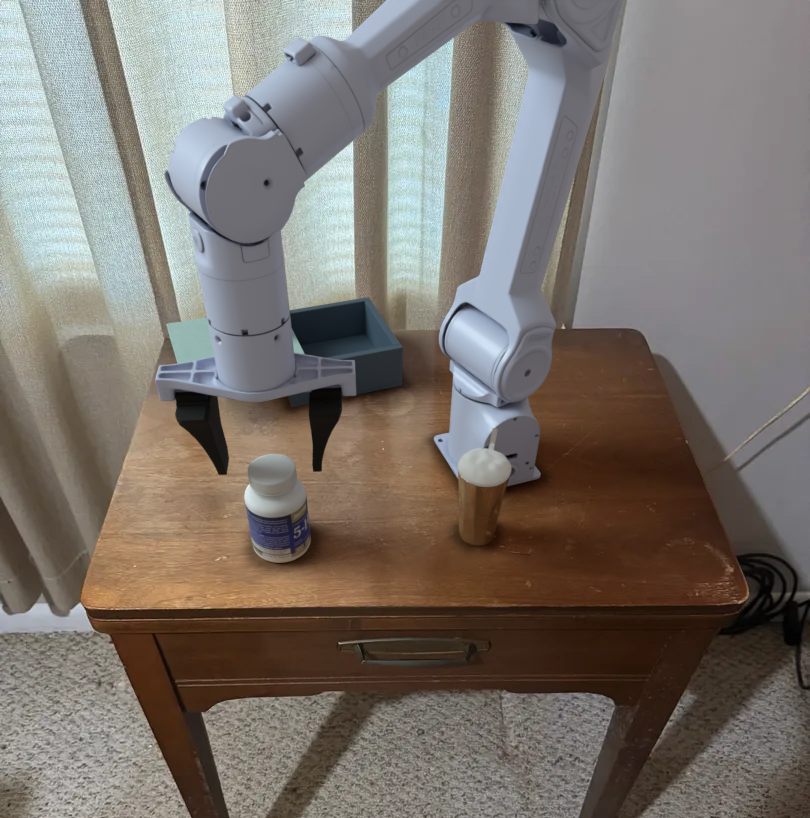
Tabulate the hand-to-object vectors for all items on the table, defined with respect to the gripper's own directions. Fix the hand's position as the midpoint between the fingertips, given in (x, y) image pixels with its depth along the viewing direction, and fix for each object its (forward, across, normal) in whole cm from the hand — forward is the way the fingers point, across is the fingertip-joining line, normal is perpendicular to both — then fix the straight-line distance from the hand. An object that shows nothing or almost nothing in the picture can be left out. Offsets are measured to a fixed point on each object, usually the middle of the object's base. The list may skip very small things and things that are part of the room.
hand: (270, 465), depth 62 cm
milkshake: (+9, -18, -1) cm, 20 cm away
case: (+9, -5, -28) cm, 30 cm away
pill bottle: (+9, 0, 0) cm, 9 cm away
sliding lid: (+4, +6, -25) cm, 26 cm away
